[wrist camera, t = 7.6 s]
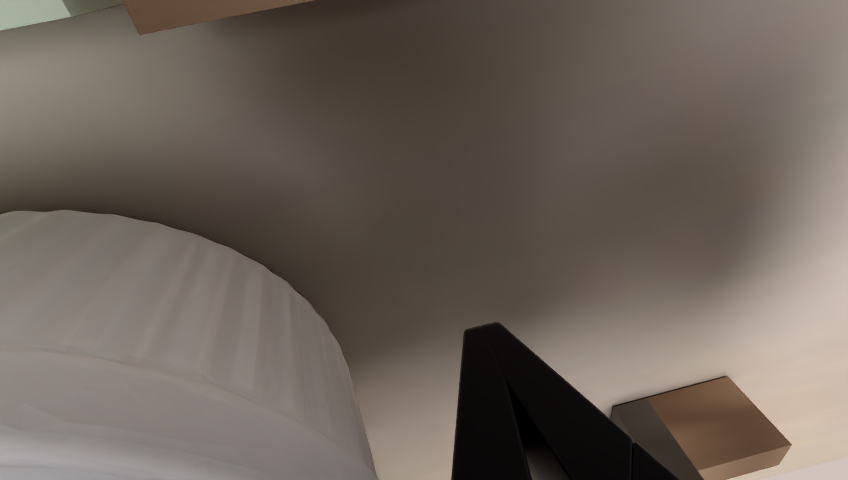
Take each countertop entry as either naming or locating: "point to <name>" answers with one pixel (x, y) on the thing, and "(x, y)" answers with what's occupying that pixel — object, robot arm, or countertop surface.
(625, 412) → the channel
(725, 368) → the countertop surface
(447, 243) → the countertop surface
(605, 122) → the countertop surface
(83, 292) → the ramekin
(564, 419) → the robot arm
